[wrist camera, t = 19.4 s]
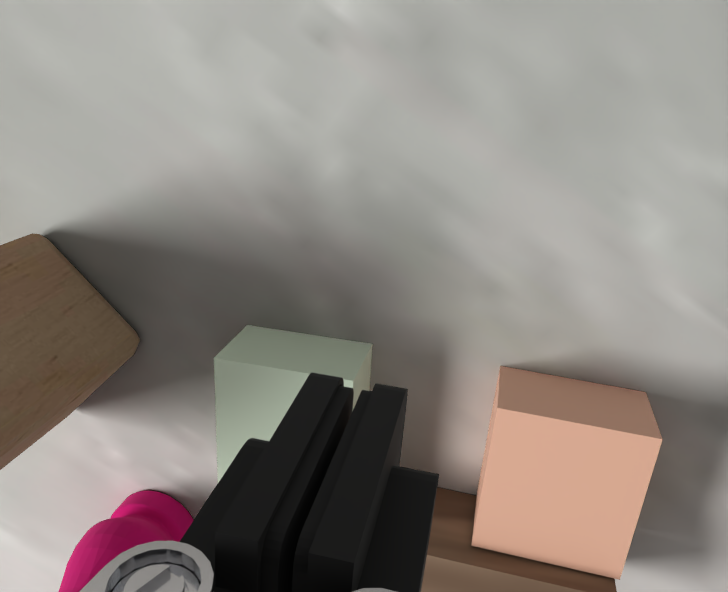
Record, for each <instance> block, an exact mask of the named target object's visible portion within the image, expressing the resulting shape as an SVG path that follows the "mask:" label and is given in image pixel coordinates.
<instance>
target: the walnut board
mask: <svg viewBox="0 0 728 592" xmlns="http://www.w3.org/2000/svg"><path fill="white" fill-rule="evenodd" d="M476 497H477V496H476V495H471V494H466V493H462V492H457V491H452V490H448V489H443V488H438V487H437V492H436V499H435V506H434V512H433V519H432V526H431V532H430V538H429V545H428V551H427V557H426V564H425V570H424V576H423V582H422V588H421V592H617V591H616V585H615V579H614V578H610V577H606V576H602V575H597V574H593V573H589V572H584V571H580V570H575V569H571V568H567V567H562V566H558V565H554V564H549V563H545V562H541V561H536V560H532V559H528V558H523V557H519V556H515V555H510V554H506V553H502V552H497V551H493V550H489V549H484V548H480V547H475V546H471V545H472V535H473V526H474V516H475V507H476Z"/></svg>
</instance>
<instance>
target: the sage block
mask: <svg viewBox="0 0 728 592" xmlns="http://www.w3.org/2000/svg"><path fill="white" fill-rule="evenodd" d="M372 345H373V344H370V343H363V342H357V341H350V340H343V339H337V338H330V337H324V336H317V335H310V334H304V333H297V332H291V331H284V330H277V329H271V328H264V327H258V326H251V325H247V326H246V327H245V328H244V329H243V330H242V331H241V332H240V333H239V334H238V335H237V336H236V337H235V338H234V339H233V340H232V341H230V342H229V343H228V344H227V345H226V346H225V347H224V348H223V349H222V350H221V351H220V352H219V353H218V354H217V355H216V356H215V357H214V382H215V412H216V442H217V472H218V483H219V481H220V480H221V478H222V477H223V475H224V474H225V472H226V471H227V469H228V467H229V466H230V464H231V463H232V461H233V460H234V458H235V457H236V455H237V454H238V452H239V451H240V449H241V448H242V446H243V445H244V444H245V442H246V441H247V440H248V439H250V438H255V439H260V440H266V441H270V439H271V437H272V436H273V434H274V432H275V431H276V429H277V427H278V426H279V424H280V422H281V421H282V419H283V417H284V416H285V414H286V412H287V411H288V409H289V407H290V406H291V404H292V403H293V401H294V399H295V398H296V396H297V394H298V393H299V391H300V389H301V388H302V386H303V384H304V383H305V381H306V379H307V378H308V376H309V375H310V373H318V374H324V375H330V376H336V377H341V378H343V380H344V387H350V388H353V389H354V398H353V409H354V407H355V405H356V402H357V400H358V397H359V395H360V393H361V391H362V390H367V391H369V390H370V375H371V360H372ZM352 412H353V410H352Z"/></svg>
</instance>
